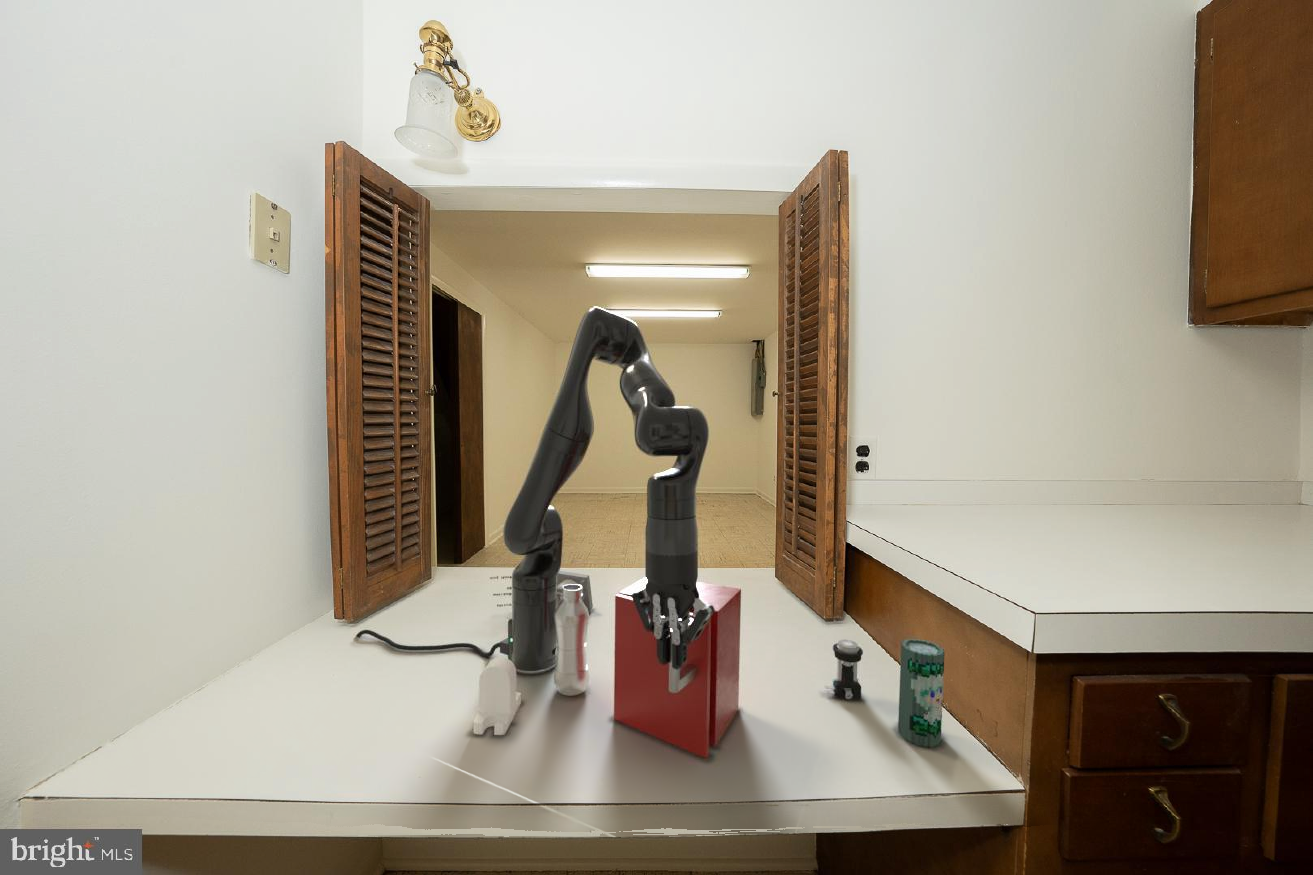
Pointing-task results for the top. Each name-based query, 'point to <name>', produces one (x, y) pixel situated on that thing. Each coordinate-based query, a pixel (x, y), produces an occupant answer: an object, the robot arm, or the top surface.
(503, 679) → the cable organizer
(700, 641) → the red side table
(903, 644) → the can
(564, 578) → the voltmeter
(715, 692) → the red upright rectangular box
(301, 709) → the top surface
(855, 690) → the push button
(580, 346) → the robot arm
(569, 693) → the plastic bottle
